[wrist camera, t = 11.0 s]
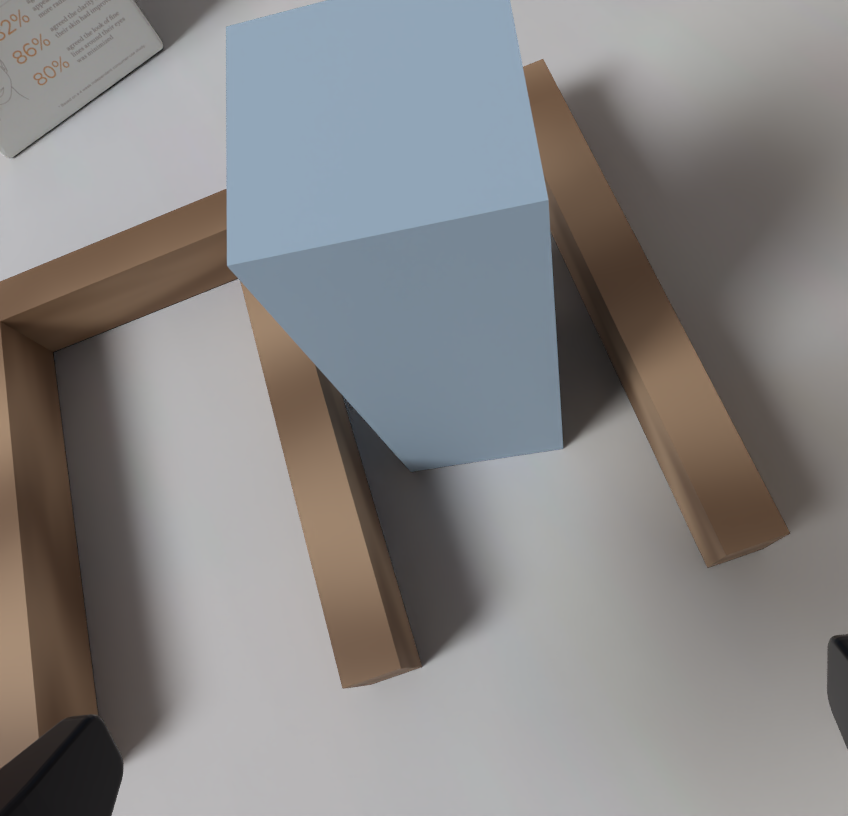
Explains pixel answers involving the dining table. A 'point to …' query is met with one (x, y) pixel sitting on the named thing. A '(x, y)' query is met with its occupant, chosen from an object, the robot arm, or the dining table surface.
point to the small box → (63, 60)
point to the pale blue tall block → (400, 217)
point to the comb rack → (323, 427)
